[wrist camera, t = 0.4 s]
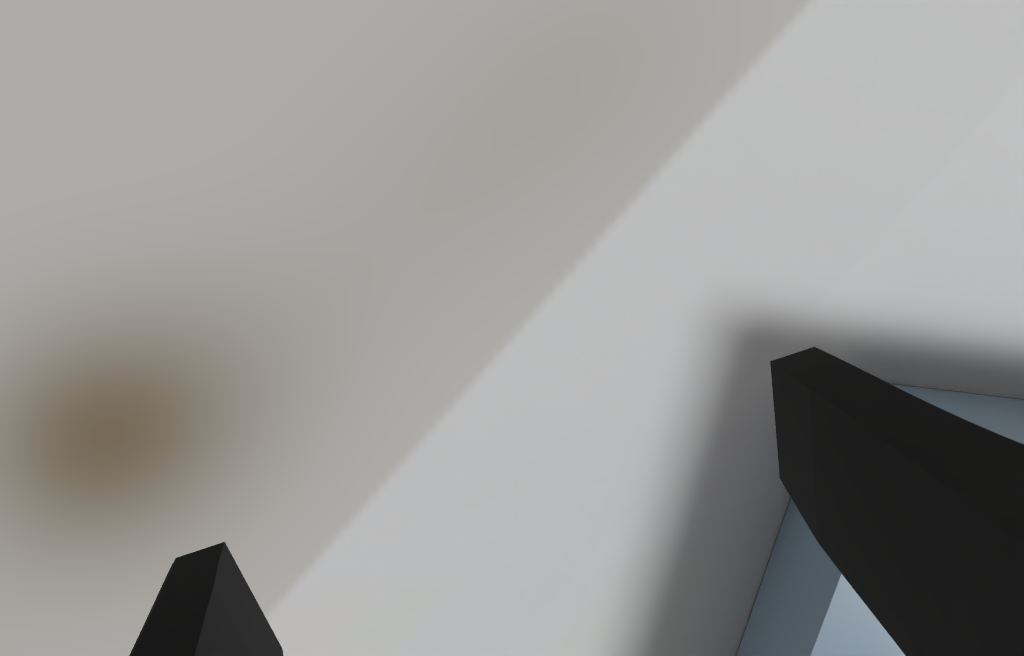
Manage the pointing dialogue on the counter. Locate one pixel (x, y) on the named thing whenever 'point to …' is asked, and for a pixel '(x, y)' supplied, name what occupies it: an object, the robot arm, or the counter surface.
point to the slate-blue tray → (817, 581)
